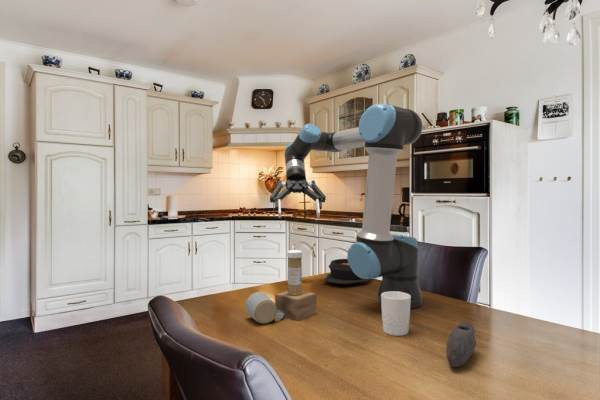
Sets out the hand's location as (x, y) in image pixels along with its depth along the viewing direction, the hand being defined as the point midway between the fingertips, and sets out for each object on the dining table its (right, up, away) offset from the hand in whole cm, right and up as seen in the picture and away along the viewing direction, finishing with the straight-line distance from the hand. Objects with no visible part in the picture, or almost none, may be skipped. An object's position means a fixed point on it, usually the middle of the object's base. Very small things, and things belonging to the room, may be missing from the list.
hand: (299, 215), depth 134 cm
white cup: (+26, -31, -29) cm, 50 cm away
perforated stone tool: (+36, -31, -47) cm, 67 cm away
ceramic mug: (-10, -31, -20) cm, 38 cm away
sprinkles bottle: (-1, -24, -15) cm, 28 cm away
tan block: (-1, -30, -14) cm, 33 cm away
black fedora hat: (+21, -29, +29) cm, 46 cm away
